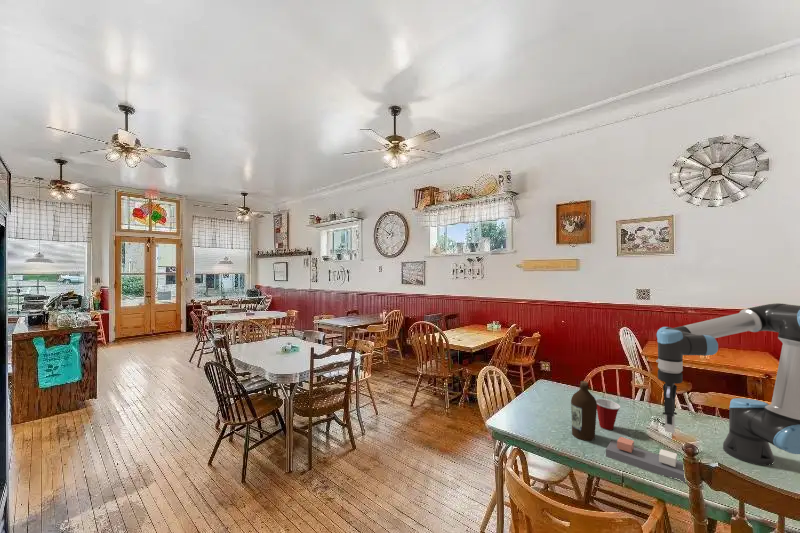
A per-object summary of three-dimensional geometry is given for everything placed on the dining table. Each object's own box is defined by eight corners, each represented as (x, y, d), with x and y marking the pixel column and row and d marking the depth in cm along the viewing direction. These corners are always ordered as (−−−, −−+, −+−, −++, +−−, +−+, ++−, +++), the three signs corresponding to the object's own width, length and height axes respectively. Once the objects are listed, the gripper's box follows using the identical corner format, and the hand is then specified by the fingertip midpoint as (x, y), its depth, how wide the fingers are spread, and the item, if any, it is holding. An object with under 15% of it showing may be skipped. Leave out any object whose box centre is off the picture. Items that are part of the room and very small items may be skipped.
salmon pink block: (633, 447, 146) (633, 440, 146) (631, 452, 142) (631, 445, 142) (619, 443, 149) (619, 436, 149) (617, 448, 145) (617, 441, 145)
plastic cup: (621, 434, 164) (622, 409, 164) (594, 429, 169) (595, 404, 169) (618, 424, 174) (619, 400, 174) (593, 420, 179) (594, 396, 178)
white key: (676, 461, 136) (676, 453, 136) (675, 467, 132) (675, 459, 132) (660, 456, 140) (660, 448, 139) (658, 461, 136) (659, 454, 136)
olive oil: (585, 429, 169) (586, 377, 169) (601, 440, 159) (603, 385, 158) (565, 431, 167) (566, 378, 167) (581, 442, 157) (582, 386, 156)
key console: (688, 471, 136) (688, 464, 136) (686, 483, 128) (686, 475, 128) (611, 446, 153) (611, 440, 153) (605, 456, 146) (605, 449, 146)
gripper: (660, 364, 143) (660, 422, 143) (655, 372, 133) (655, 434, 134) (684, 368, 137) (683, 428, 138) (680, 376, 128) (680, 441, 128)
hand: (669, 431), depth 136 cm, fingers closed
